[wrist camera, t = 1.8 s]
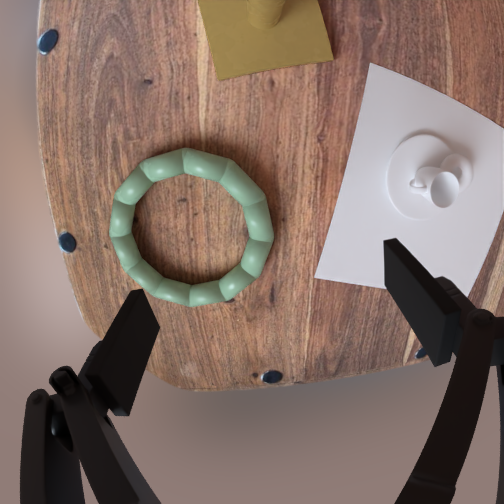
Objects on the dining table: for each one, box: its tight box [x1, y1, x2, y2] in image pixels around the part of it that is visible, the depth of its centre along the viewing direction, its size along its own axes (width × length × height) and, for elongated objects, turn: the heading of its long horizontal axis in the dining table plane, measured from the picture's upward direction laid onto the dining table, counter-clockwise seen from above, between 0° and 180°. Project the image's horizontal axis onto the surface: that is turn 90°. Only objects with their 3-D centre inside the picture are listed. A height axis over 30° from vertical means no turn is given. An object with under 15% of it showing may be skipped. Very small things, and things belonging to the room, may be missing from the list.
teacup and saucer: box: [385, 133, 474, 221], centre depth 23 cm, size 9×8×4 cm
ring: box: [109, 148, 274, 307], centre depth 26 cm, size 14×14×2 cm
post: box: [198, 0, 334, 81], centre depth 16 cm, size 9×9×8 cm
